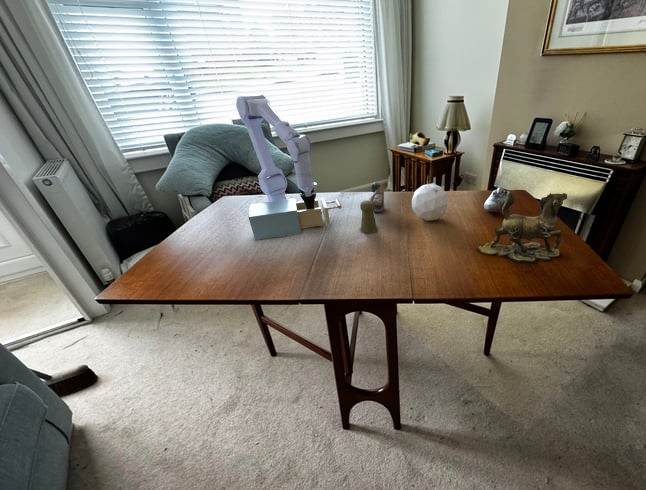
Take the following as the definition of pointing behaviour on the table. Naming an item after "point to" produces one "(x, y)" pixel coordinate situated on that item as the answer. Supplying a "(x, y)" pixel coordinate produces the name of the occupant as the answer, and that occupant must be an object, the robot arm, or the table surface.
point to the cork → (368, 217)
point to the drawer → (314, 213)
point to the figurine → (528, 232)
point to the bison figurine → (377, 197)
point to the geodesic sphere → (429, 202)
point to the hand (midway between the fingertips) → (310, 208)
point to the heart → (496, 200)
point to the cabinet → (274, 219)
